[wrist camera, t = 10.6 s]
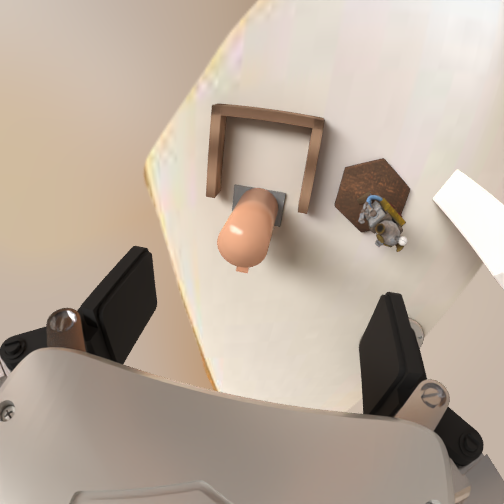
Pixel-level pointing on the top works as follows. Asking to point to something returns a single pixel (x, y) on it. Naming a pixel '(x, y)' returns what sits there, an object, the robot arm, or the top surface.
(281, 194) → the mat
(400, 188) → the robot figurine
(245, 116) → the frame
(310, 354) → the top surface
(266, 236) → the peach rounded cylinder
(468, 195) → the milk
